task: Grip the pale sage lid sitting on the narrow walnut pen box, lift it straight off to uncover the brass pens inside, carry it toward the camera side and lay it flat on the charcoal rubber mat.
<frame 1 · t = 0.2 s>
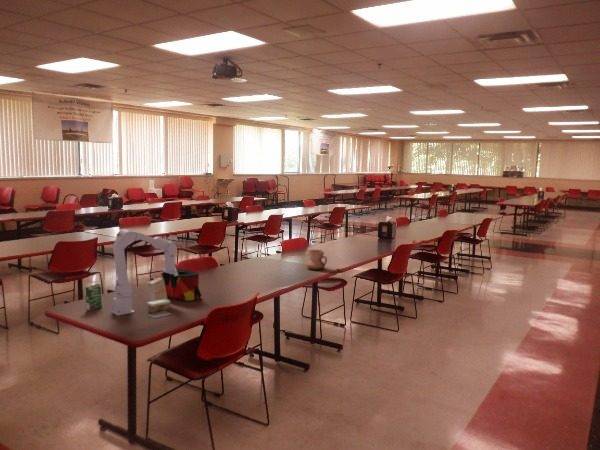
hand: (170, 286, 268), 10 cm above the table, tool pointing down, fingers open, 7 cm apart
bag: (180, 296, 284), on the table
coffee box: (94, 309, 257), on the table
supplement box: (159, 302, 270), on the table
lid: (158, 303, 255), point 4 cm above the table, touching pen box
mat: (160, 315, 249), on the table
pen box: (159, 310, 256), on the table
ceramic jug: (316, 269, 366), on the table
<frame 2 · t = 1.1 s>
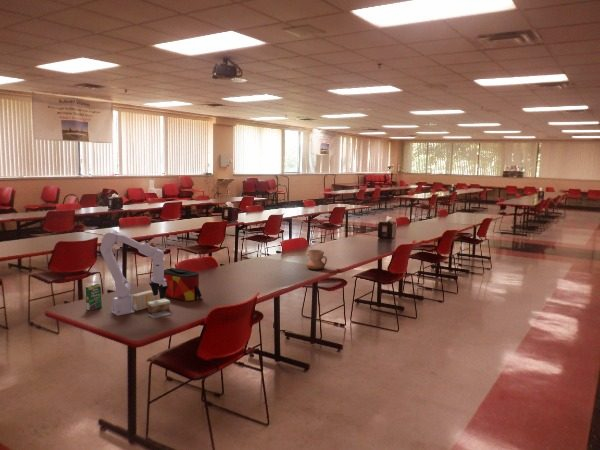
hand: (158, 296, 255), 8 cm above the table, tool pointing down, fingers open, 7 cm apart
supplement box: (154, 297, 267), point 4 cm above the table
everything else where it was.
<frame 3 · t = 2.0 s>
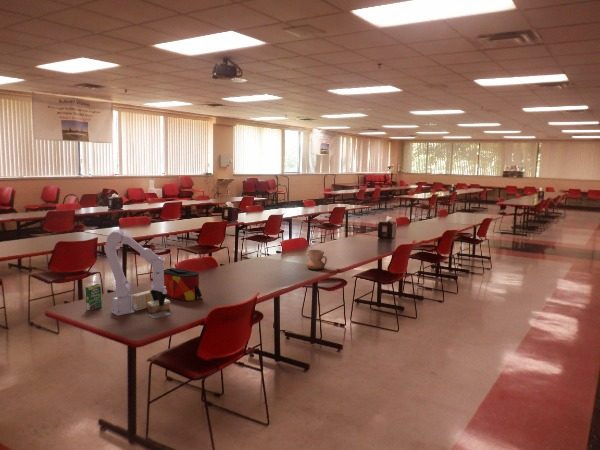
hand: (158, 304, 255), 4 cm above the table, tool pointing down, fingers closed on lid, 5 cm apart
lid: (158, 303, 255), point 4 cm above the table, touching gripper, pen box
everything else where it was.
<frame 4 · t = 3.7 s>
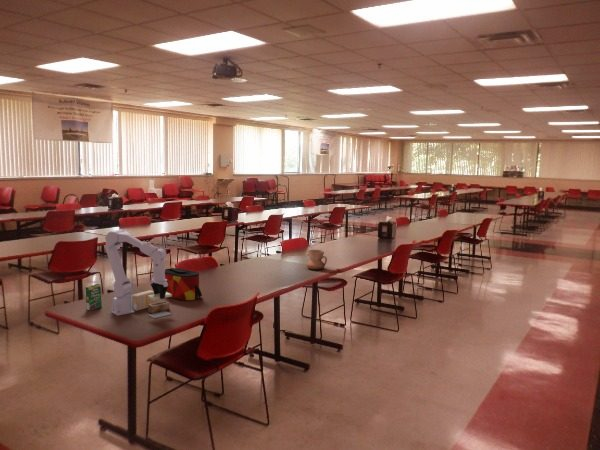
hand: (159, 297, 247), 10 cm above the table, tool pointing down, fingers closed on lid, 5 cm apart
lid: (159, 297, 247), point 10 cm above the table, touching gripper
everything else where it was.
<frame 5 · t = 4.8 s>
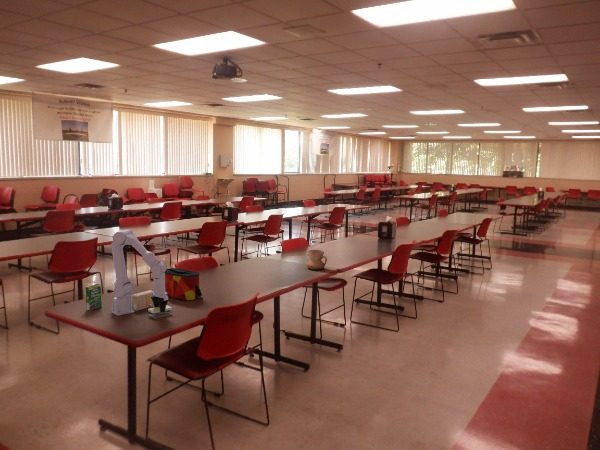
hand: (159, 310, 248), 2 cm above the table, tool pointing down, fingers closed on lid, 5 cm apart
lid: (160, 310, 248), point 3 cm above the table, touching gripper
everything else where it was.
when the fingers open (2 cm above the table, at t = 5.6 s): lid drops 1 cm, resting on mat.
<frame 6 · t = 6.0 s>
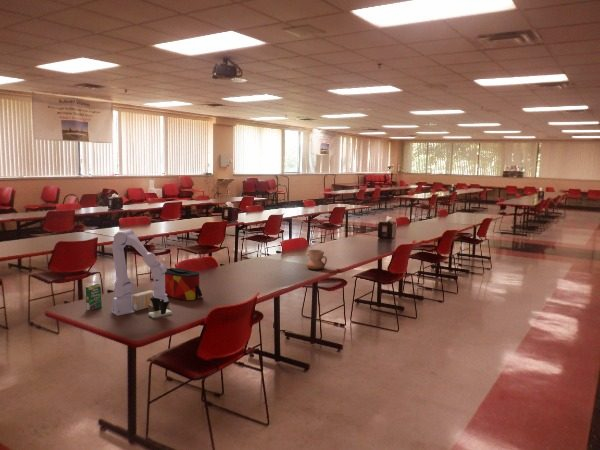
hand: (159, 312, 248), 2 cm above the table, tool pointing down, fingers open, 7 cm apart
lid: (160, 314, 249), resting on mat
everything else where it was.
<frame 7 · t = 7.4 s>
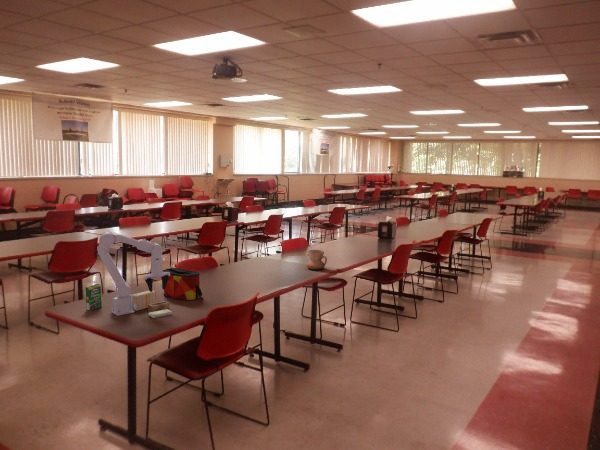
hand: (157, 290, 258), 10 cm above the table, tool pointing down, fingers open, 7 cm apart
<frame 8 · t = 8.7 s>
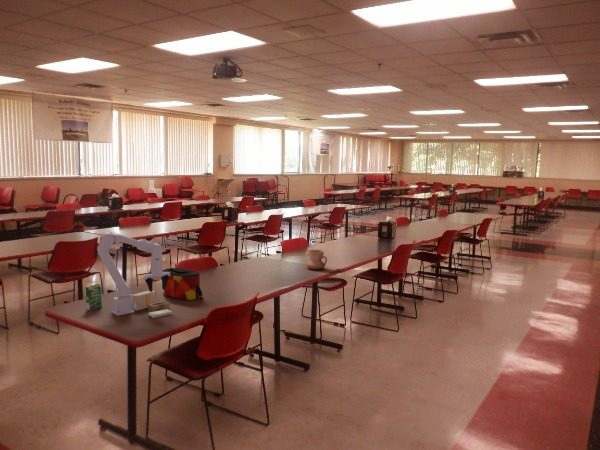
hand: (157, 290, 258), 10 cm above the table, tool pointing down, fingers open, 7 cm apart
at the end: lid inside the target area on the mat (0.1 cm from its centre), point 0.4 cm above the mat's base; lid tilted 0°; lid touching mat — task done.
